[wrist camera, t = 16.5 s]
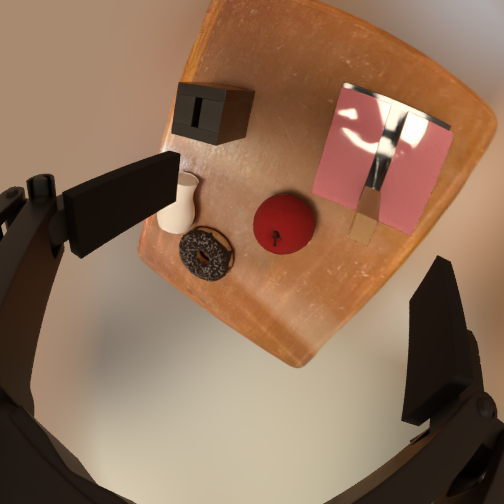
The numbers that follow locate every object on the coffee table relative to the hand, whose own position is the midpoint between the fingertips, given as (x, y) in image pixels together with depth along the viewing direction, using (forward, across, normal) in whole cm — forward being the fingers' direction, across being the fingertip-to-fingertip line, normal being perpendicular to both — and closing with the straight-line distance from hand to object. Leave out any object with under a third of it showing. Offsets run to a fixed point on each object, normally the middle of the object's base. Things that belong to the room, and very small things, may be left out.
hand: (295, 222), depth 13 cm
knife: (+31, +4, -4) cm, 31 cm away
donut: (+32, -20, -29) cm, 48 cm away
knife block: (+32, -21, -1) cm, 38 cm away
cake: (+32, +4, 0) cm, 32 cm away
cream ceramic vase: (+32, -26, -19) cm, 46 cm away
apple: (+32, -6, -15) cm, 36 cm away
